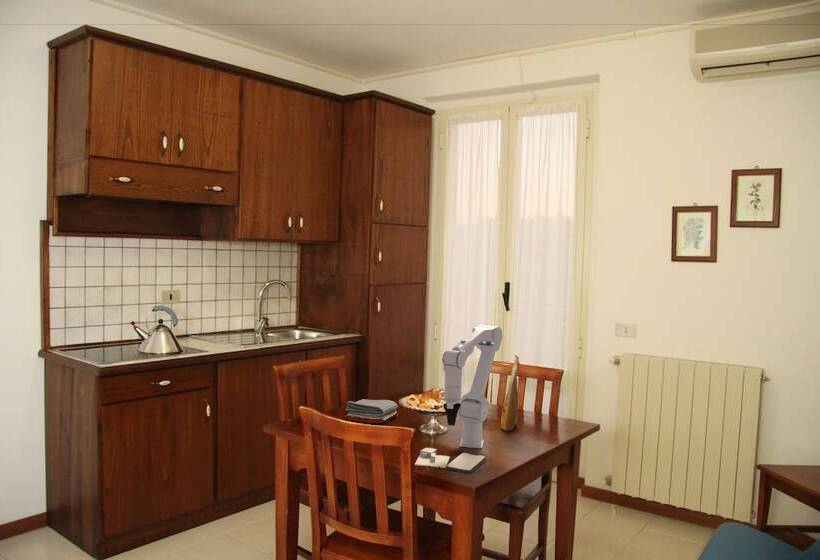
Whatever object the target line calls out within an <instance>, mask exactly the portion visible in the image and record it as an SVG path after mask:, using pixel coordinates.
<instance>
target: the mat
mask: <svg viewBox="0 0 820 560" xmlns="http://www.w3.org/2000/svg"><path fill="white" fill-rule="evenodd" d="M450 458H451V456H448V455H440V454H439V455H438V454H436V455H435V462H431V458H429V457H424V456H420V455H418V457H417V459H416V460H415V461H416V462H415V463H414V466H419V467H429V466H430V468H431V467H432V468H439V467H440V469H446V465H448V464H449V461H450Z"/></svg>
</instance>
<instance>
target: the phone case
mask: <svg viewBox="0 0 820 560" xmlns="http://www.w3.org/2000/svg"><path fill="white" fill-rule="evenodd" d="M486 459H487V457H486V456H484V455H480V454H476V453H471V452H470V453H468V452H461V453H460V454H459V455H458V456H456V457H455V458H454V459H452V460H451V461H450V462H448V463H447V465H446V468H445V470H447V469H449V470H448V471H452V470H455V471H454V472H457V471H459V472H458V473H462V472H464V474H472V473H474V471H476V470H477V469H478V468H479V467H480V466H481V465H482V464H484V463H485V462H486ZM477 467H478V468H477ZM476 468H477V469H476ZM471 472H472V473H471Z"/></svg>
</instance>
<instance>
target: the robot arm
mask: <svg viewBox="0 0 820 560" xmlns="http://www.w3.org/2000/svg"><path fill="white" fill-rule="evenodd" d="M502 340H503V330H502V328H501V326H499V325H485V324H478V323H477V324H475V325H474V326H473V327H472V331H471V334H470V335H469V336H468V338H467V339H466V338H465V339H461V340H460V341H459V342H458V343H457V344H456V345H455V346H454V347H453V348H452V349H447V350H445V351H444V352H443V354H442V358H441V364H442V365H443V372H444V390H443V391H444V392H443V393H444V394H443V396H441V397H440V400H441V401H444V402H445V403H443V407H442V408H443V409H444V412H445V415H446V420H447V425H448V426H450V427H451V426H453V427H455V425H456V422H457V421H456V420H457V417H460V420H461V421H462V426H461V428H462V429H461V440H460V443H459V447H460V448H471V449H483V447H484V442H485V441H484V439H483V422H485V420H486V419H487V418H488V416H489V407H490V406H489V405H490V403H489V400H488V399H487V397H485V392H486V389H487V384H488V381H489V378H490V373H491V370H492V365H493V362H494V358H495V355H496V352H498V351H499V350H500V347H501V344H502ZM475 347H476V348H477V349H479V350H480V355H479V360H478V363H477V366H476V370H475V373H474V377H473V380H472V384H471V387H470V391H469V392H467V393H465V394H463V395H462V382H463V380H462V379H463V378H462V377H463V368H464V367H465V365H466V362H467V361H468V358H469V357H470V355H472V354H473V353H474V350H475Z"/></svg>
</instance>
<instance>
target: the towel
mask: <svg viewBox="0 0 820 560" xmlns="http://www.w3.org/2000/svg"><path fill="white" fill-rule="evenodd" d="M346 404H347V406H346V408H345V411H346V412H348V413H347V415H346V416H351V417H360V418H369V419H382V420H386V419H388V418H389V417H391V416H393V415H395V414H396V413H397V409H398V408H399V406H398V404H397V403H396V402H395V401H393V400H389V399H366V398H365V399H364V398H363V399H360V400H358V401H352V400H351V401H350V400H349V401H347V403H346ZM397 414H398V413H397Z"/></svg>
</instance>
